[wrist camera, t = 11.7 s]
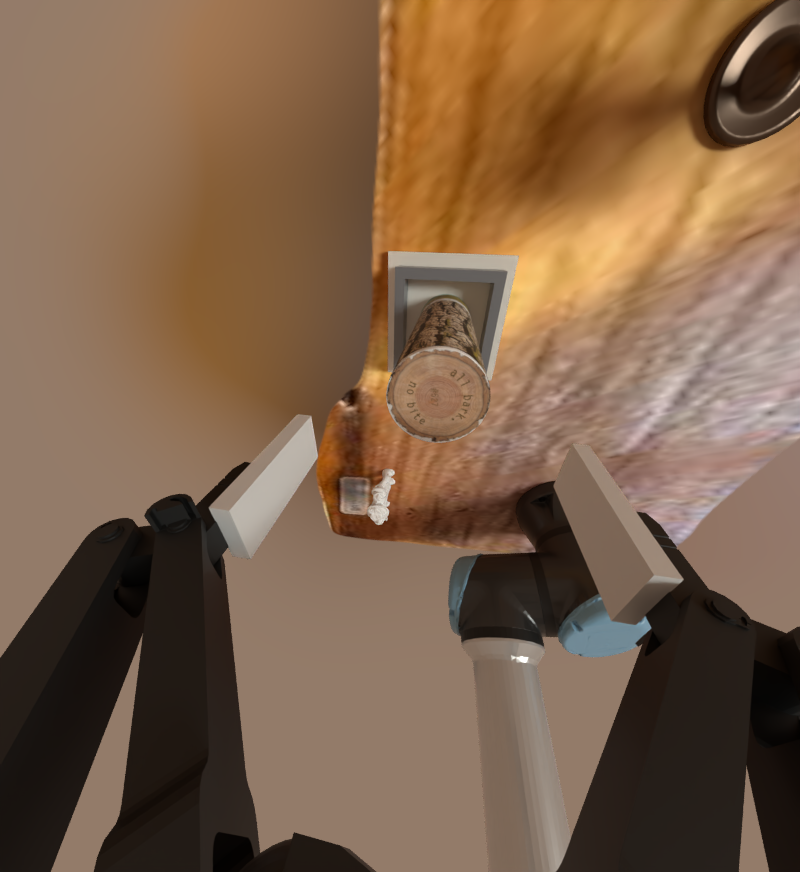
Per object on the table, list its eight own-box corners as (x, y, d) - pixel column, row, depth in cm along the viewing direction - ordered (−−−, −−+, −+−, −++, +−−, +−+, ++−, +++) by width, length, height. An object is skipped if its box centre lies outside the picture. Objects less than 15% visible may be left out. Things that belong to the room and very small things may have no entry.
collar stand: (490, 378, 44) (494, 390, 40) (388, 369, 45) (383, 380, 42) (517, 255, 35) (525, 256, 31) (389, 251, 37) (382, 251, 33)
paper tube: (472, 293, 37) (498, 348, 16) (467, 345, 40) (484, 445, 20) (420, 294, 38) (382, 347, 17) (420, 345, 42) (389, 440, 21)
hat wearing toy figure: (378, 458, 56) (362, 503, 46) (398, 460, 56) (386, 506, 46) (379, 491, 61) (365, 538, 51) (397, 493, 61) (386, 541, 51)
